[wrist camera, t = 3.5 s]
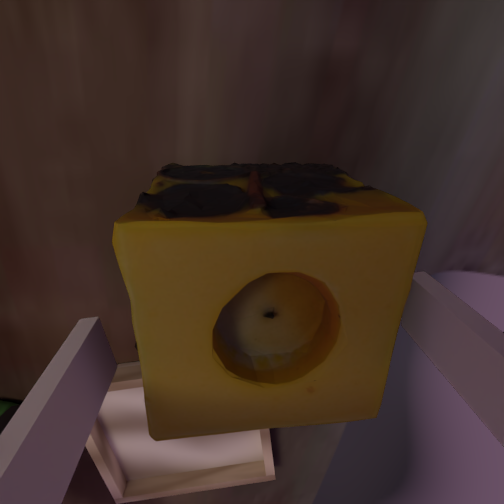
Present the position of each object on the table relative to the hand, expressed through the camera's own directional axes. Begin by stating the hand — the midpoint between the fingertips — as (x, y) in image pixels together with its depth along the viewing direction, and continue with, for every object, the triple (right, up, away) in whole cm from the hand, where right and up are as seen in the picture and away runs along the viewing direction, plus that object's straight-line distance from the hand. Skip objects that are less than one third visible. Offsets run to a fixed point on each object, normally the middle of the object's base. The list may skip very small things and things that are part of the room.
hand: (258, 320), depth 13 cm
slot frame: (-6, -12, +13) cm, 19 cm away
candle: (-1, +4, +7) cm, 8 cm away
